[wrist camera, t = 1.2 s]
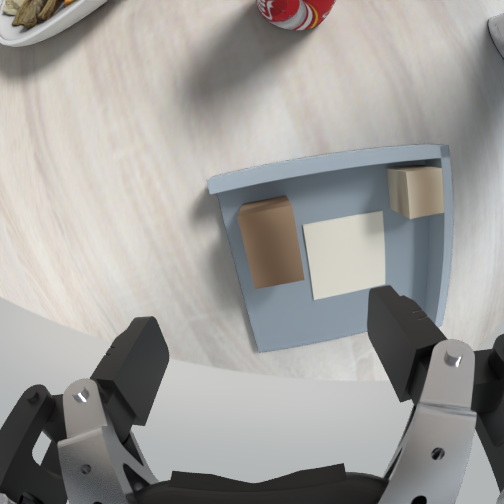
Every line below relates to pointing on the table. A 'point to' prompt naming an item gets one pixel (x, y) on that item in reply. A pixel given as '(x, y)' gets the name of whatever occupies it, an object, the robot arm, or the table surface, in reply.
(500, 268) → the table surface
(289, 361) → the table surface
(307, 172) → the arena
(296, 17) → the soda can
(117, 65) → the table surface
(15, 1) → the bowl
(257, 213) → the walnut block
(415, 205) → the ash block
